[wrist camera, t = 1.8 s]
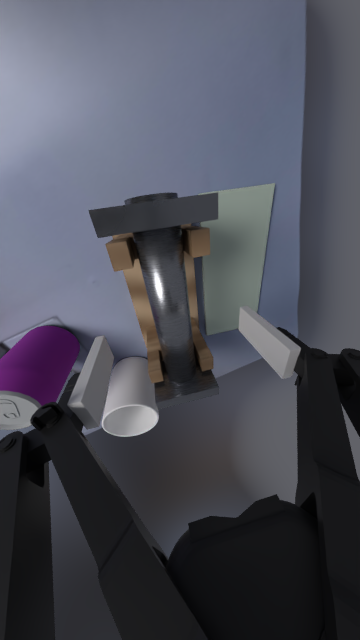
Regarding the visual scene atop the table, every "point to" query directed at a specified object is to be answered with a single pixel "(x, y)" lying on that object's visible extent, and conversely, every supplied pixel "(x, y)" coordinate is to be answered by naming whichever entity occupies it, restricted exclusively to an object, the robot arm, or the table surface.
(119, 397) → the mug
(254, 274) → the mat
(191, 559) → the robot arm
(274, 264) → the table surface
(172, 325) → the rod
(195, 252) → the cradle
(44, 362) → the beverage can
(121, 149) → the table surface
